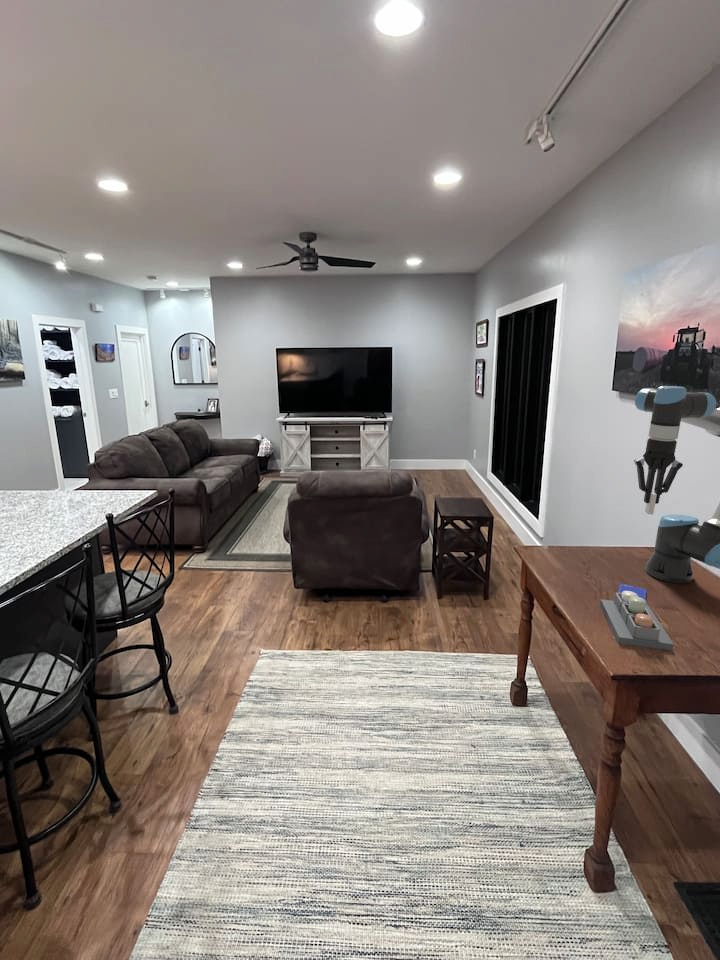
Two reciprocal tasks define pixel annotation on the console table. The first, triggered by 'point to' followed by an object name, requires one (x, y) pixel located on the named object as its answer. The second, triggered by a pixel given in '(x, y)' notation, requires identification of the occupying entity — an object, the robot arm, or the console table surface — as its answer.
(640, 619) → the button terracotta
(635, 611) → the button sage
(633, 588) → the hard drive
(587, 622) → the console table surface
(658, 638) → the button board
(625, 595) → the button ivory
